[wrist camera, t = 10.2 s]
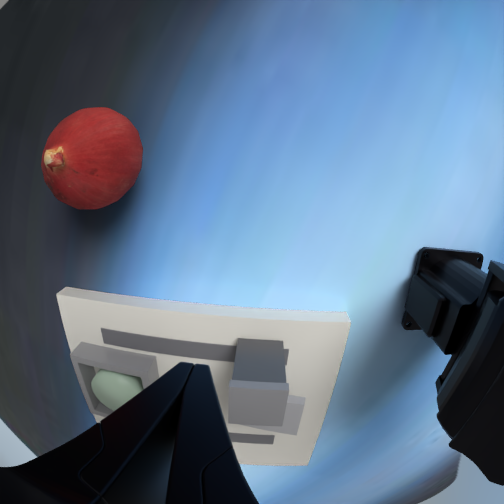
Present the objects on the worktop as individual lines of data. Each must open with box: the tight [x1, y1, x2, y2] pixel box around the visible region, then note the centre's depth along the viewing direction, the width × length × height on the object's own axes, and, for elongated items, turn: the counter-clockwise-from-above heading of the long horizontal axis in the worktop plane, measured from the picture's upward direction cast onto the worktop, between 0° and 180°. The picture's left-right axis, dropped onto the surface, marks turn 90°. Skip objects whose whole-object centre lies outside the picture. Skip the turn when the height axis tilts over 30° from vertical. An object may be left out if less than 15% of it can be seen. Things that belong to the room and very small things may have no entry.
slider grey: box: [228, 338, 289, 426], centre depth 17 cm, size 3×3×5 cm
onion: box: [41, 107, 143, 209], centre depth 14 cm, size 6×6×8 cm
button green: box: [91, 368, 144, 411], centre depth 21 cm, size 4×4×2 cm
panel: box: [56, 287, 351, 466], centre depth 22 cm, size 22×18×4 cm
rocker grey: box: [239, 395, 306, 436], centre depth 19 cm, size 5×4×1 cm
